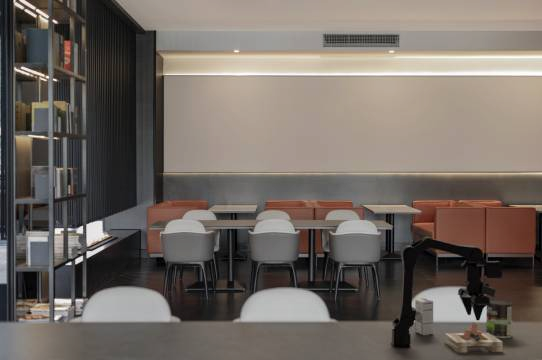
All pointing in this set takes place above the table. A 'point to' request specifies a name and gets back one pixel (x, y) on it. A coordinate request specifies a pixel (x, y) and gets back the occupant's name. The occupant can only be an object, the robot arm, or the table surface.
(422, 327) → the syrup box
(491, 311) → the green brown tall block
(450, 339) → the frame with crossbar
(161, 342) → the table surface
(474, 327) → the tee shaped peg
